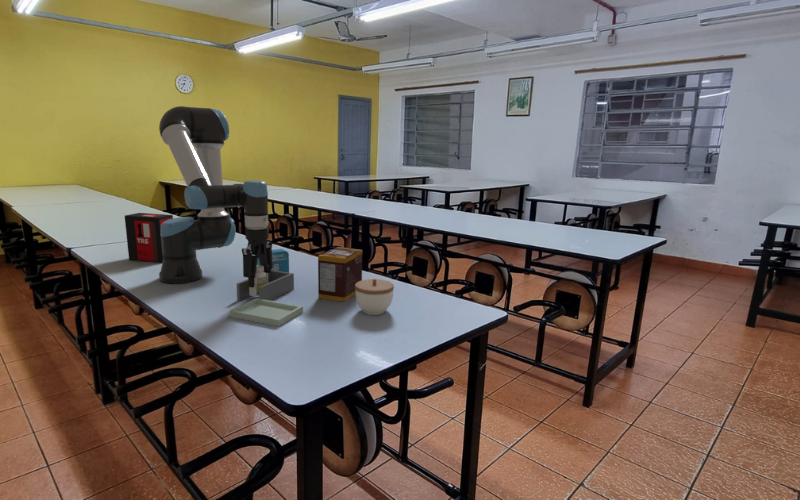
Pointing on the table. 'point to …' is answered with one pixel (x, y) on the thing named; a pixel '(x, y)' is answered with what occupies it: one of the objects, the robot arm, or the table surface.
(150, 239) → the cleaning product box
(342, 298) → the supplement box
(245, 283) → the bay
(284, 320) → the tray
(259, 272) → the supplement bottle
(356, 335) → the table surface
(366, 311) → the lidded bowl
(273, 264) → the data package
